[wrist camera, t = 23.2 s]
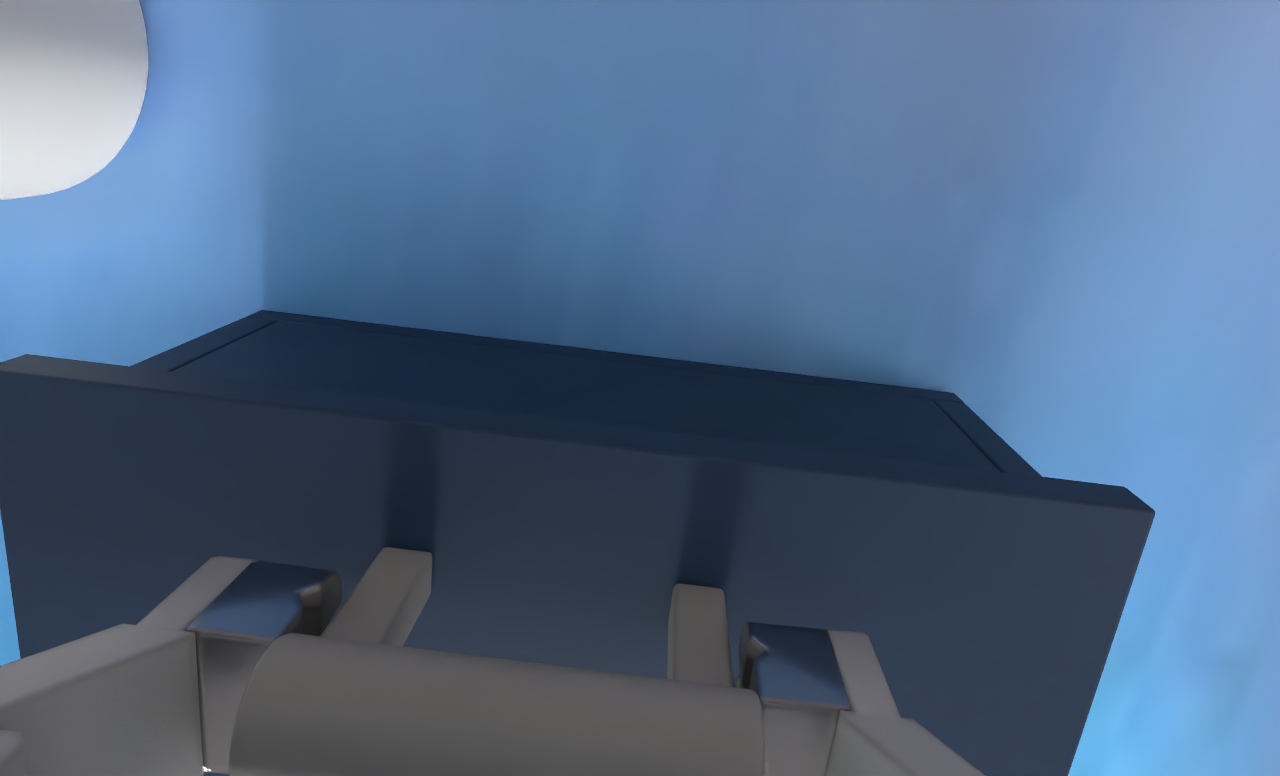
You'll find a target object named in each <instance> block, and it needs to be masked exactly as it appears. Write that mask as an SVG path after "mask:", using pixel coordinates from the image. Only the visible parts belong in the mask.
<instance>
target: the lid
mask: <svg viewBox="0 0 1280 776" xmlns="http://www.w3.org/2000/svg"><path fill="white" fill-rule="evenodd" d="M0 509H1V517H2V524H3V531H4V539H5V546H6V553H7V561H8V568H9V575H10V583H11V590H12V597H13V605H14V612H15V619H16V627H17V634H18V641H19V649H20V656H21V659H23V658H26V657H28V656H31V655H34V654H37V653H40V652H43V651H46V650H48V649H51V648H54V647H57V646H60V645H63V644H66V643H69V642H71V641H74V640H77V639H80V638H83V637H86V636H89V635H91V634H94V633H97V632H100V631H103V630H106V629H109V628H112V627H114V626H117V625H120V624H131V625H136V624H138V623H139V622H140V621H141V620H142V619H143V618H144V617H145V616H146V615H148V614H149V613H150V612H151V611H152V610H153V609H154V608H155V607H157V606H158V605H159V604H160V603H161V602H162V601H163V600H164V599H165V598H167V597H168V596H169V595H170V594H171V593H172V592H173V591H174V590H175V589H177V588H178V587H179V586H180V585H181V584H182V583H183V582H184V581H185V580H187V579H188V578H189V577H190V576H191V575H192V574H193V573H194V572H196V571H197V570H198V569H199V568H200V567H201V566H202V565H203V564H204V563H206V562H207V561H208V560H209V559H210V558H211V557H217V556H228V557H237V558H247V559H255V560H257V561H267V562H274V563H282V564H289V565H296V566H303V567H310V568H317V569H324V570H331V571H337V573H338V574H339V576H340V578H341V579H342V604H341V606H340V607H339V608H338V610H337V611H336V613H335V614H334V616H333V617H332V618H331V619H332V620H331V622H330V623H329V625H328V626H327V627H326V629H325V630H324V632H323V633H322V634H321V636H313V635H305V634H297V633H289V634H285V635H282V636H280V637H279V638H277V639H276V640H275V641H274V642H273V643H272V644H271V645H270V646H269V647H268V648H267V649H266V651H265V652H264V654H263V655H262V656H261V658H260V660H259V661H258V663H257V665H256V667H255V669H254V670H253V672H252V674H251V677H250V679H249V681H248V683H247V686H246V688H245V691H244V693H243V696H242V699H241V702H240V705H239V708H238V712H237V715H236V719H235V723H234V728H233V733H232V738H231V745H230V755H229V773H230V774H225V773H214V772H203V776H764V770H765V737H764V721H763V713H762V707H761V703H760V700H759V697H758V694H757V693H756V692H754V691H753V690H751V689H743V688H735V687H734V683H733V680H734V679H735V678H736V677H738V676H739V675H740V665H739V656H738V647H739V642H740V636H741V632H742V628H743V625H744V622H754V623H764V624H775V625H786V626H796V627H807V628H817V629H830V630H843V631H855V632H863V633H865V634H866V635H867V636H868V637H869V639H870V642H871V644H872V647H873V649H874V652H875V654H876V657H877V659H878V662H879V664H880V667H881V669H882V672H883V674H884V677H885V679H886V682H887V684H888V687H889V689H890V692H891V694H892V697H893V699H894V702H895V704H896V707H897V709H898V712H899V714H900V717H901V718H907V719H913V720H915V721H916V722H917V723H918V724H920V725H921V726H922V727H924V728H925V729H926V730H927V731H929V732H930V733H931V734H932V735H934V736H935V737H936V738H938V739H939V740H940V741H941V742H943V743H944V744H945V745H947V746H948V747H949V748H950V749H952V750H953V751H954V752H955V753H957V754H958V755H959V756H961V757H962V758H963V759H964V760H966V761H967V762H968V763H970V764H971V765H972V766H973V767H975V768H976V769H977V770H979V771H980V772H981V773H982V774H984V775H985V776H1068V773H1069V770H1070V767H1071V764H1072V761H1073V758H1074V755H1075V752H1076V749H1077V746H1078V743H1079V740H1080V737H1081V734H1082V731H1083V728H1084V725H1085V722H1086V719H1087V716H1088V713H1089V710H1090V707H1091V704H1092V701H1093V698H1094V695H1095V692H1096V689H1097V686H1098V684H1099V681H1100V678H1101V675H1102V672H1103V669H1104V666H1105V663H1106V660H1107V657H1108V654H1109V651H1110V648H1111V645H1112V642H1113V639H1114V636H1115V633H1116V630H1117V627H1118V624H1119V621H1120V618H1121V615H1122V612H1123V609H1124V606H1125V603H1126V600H1127V597H1128V594H1129V591H1130V588H1131V585H1132V582H1133V579H1134V576H1135V573H1136V570H1137V567H1138V564H1139V561H1140V558H1141V555H1142V552H1143V549H1144V546H1145V543H1146V540H1147V537H1148V534H1149V531H1150V528H1151V525H1152V522H1153V519H1154V516H1155V511H1154V510H1153V509H1152V508H1151V507H1149V506H1148V505H1147V504H1146V503H1144V502H1143V501H1142V500H1141V499H1139V498H1138V497H1137V496H1135V495H1134V494H1133V493H1132V492H1130V491H1129V490H1128V489H1127V488H1125V487H1121V486H1113V485H1105V484H1097V483H1088V482H1080V481H1072V480H1063V479H1055V478H1047V477H1039V476H1030V475H1022V474H1014V473H1005V472H997V471H989V470H981V469H972V468H964V467H956V466H948V465H939V464H931V463H923V462H914V461H906V460H898V459H890V458H881V457H873V456H865V455H856V454H848V453H840V452H832V451H823V450H815V449H807V448H799V447H790V446H782V445H774V444H765V443H757V442H749V441H741V440H732V439H724V438H716V437H707V436H699V435H691V434H683V433H674V432H666V431H658V430H650V429H641V428H633V427H625V426H616V425H608V424H600V423H592V422H583V421H575V420H567V419H558V418H550V417H542V416H534V415H525V414H517V413H509V412H501V411H492V410H484V409H476V408H467V407H459V406H451V405H443V404H434V403H426V402H418V401H409V400H401V399H393V398H385V397H376V396H368V395H360V394H352V393H343V392H335V391H327V390H318V389H310V388H302V387H294V386H285V385H277V384H269V383H260V382H252V381H244V380H236V379H227V378H219V377H211V376H203V375H194V374H186V373H178V372H169V371H161V370H153V369H145V368H136V367H128V366H120V365H111V364H103V363H95V362H87V361H78V360H70V359H62V358H54V357H45V356H37V355H29V354H26V355H23V356H20V357H17V358H14V359H11V360H8V361H5V362H2V363H0Z"/></svg>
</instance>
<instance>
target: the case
mask: <svg viewBox="0 0 1280 776" xmlns="http://www.w3.org/2000/svg"><path fill="white" fill-rule="evenodd" d="M130 367H136V368H145V369H153V370H161V371H169V372H178V373H186V374H194V375H203V376H211V377H219V378H227V379H236V380H244V381H252V382H260V383H269V384H277V385H285V386H294V387H302V388H310V389H318V390H327V391H335V392H343V393H352V394H360V395H368V396H376V397H385V398H393V399H401V400H409V401H418V402H426V403H434V404H443V405H451V406H459V407H467V408H476V409H484V410H492V411H501V412H509V413H517V414H525V415H534V416H542V417H550V418H558V419H567V420H575V421H583V422H592V423H600V424H608V425H616V426H625V427H633V428H641V429H650V430H658V431H666V432H674V433H683V434H691V435H699V436H707V437H716V438H724V439H732V440H741V441H749V442H757V443H765V444H774V445H782V446H790V447H799V448H807V449H815V450H823V451H832V452H840V453H848V454H856V455H865V456H873V457H881V458H890V459H898V460H906V461H914V462H923V463H931V464H939V465H948V466H956V467H964V468H972V469H981V470H989V471H997V472H1005V473H1014V474H1022V475H1030V476H1039V477H1042V476H1041V475H1040V474H1039V473H1038V472H1037V471H1035V470H1034V469H1033V468H1032V467H1031V466H1030V465H1029V464H1028V463H1027V462H1026V461H1025V460H1024V459H1023V458H1022V457H1021V456H1020V455H1019V454H1017V453H1016V452H1015V451H1014V450H1013V449H1012V448H1011V447H1010V446H1009V445H1008V444H1007V443H1006V442H1005V441H1004V440H1003V439H1002V438H1001V437H999V436H998V435H997V434H996V433H995V432H994V431H993V430H992V429H991V428H990V427H989V426H988V425H987V424H986V423H985V422H984V421H983V420H981V419H980V418H979V417H978V416H977V415H976V414H975V413H974V412H973V411H972V410H971V409H970V408H969V407H968V406H967V405H966V404H964V402H963V401H962V400H961V399H960V398H959V397H958V396H956V395H955V394H954V393H949V392H941V391H932V390H924V389H916V388H907V387H899V386H891V385H882V384H874V383H866V382H857V381H849V380H841V379H832V378H824V377H816V376H807V375H799V374H791V373H782V372H774V371H766V370H757V369H749V368H741V367H732V366H724V365H716V364H707V363H699V362H691V361H682V360H674V359H666V358H657V357H649V356H641V355H632V354H624V353H616V352H607V351H599V350H591V349H583V348H574V347H566V346H558V345H549V344H541V343H533V342H524V341H516V340H508V339H499V338H491V337H483V336H474V335H466V334H458V333H449V332H441V331H433V330H424V329H416V328H408V327H399V326H391V325H383V324H374V323H366V322H358V321H349V320H341V319H333V318H324V317H316V316H308V315H299V314H291V313H283V312H274V311H266V310H261V311H258V312H256V313H254V314H251V315H249V316H247V317H245V318H242V319H240V320H238V321H235V322H233V323H231V324H228V325H226V326H224V327H221V328H219V329H217V330H214V331H212V332H210V333H207V334H205V335H203V336H200V337H198V338H196V339H193V340H191V341H189V342H186V343H184V344H181V345H179V346H177V347H174V348H172V349H170V350H167V351H165V352H163V353H160V354H158V355H156V356H153V357H151V358H149V359H146V360H144V361H142V362H139V363H137V364H135V365H132V366H130Z"/></svg>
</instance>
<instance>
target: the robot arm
mask: <svg viewBox="0 0 1280 776" xmlns="http://www.w3.org/2000/svg"><path fill="white" fill-rule="evenodd" d="M341 604H342V579H341V578H340V576H339V574H338V573H337V571H331V570H324V569H317V568H310V567H303V566H296V565H289V564H282V563H274V562H267V561H257V560H255V559H247V558H237V557H228V556H217V557H211V558H210V559H209V560H208V561H207V562H206V563H204V564H203V565H202V566H201V567H200V568H199V569H198V570H197V571H196V572H194V573H193V574H192V575H191V576H190V577H189V578H188V579H187V580H185V581H184V582H183V583H182V584H181V585H180V586H179V587H178V588H177V589H175V590H174V591H173V592H172V593H171V594H170V595H169V596H168V597H167V598H165V599H164V600H163V601H162V602H161V603H160V604H159V605H158V606H157V607H155V608H154V609H153V610H152V611H151V612H150V613H149V614H148V615H146V616H145V617H144V618H143V619H142V620H141V621H140V622H139V623H138V624H136V625H131V624H120V625H117V626H114V627H112V628H109V629H106V630H103V631H100V632H97V633H94V634H91V635H89V636H86V637H83V638H80V639H77V640H74V641H71V642H69V643H66V644H63V645H60V646H57V647H54V648H51V649H48V650H46V651H43V652H40V653H37V654H34V655H31V656H28V657H26V658H23V659H20V660H17V661H14V662H11V663H8V664H5V665H3V666H0V776H203V772H214V773H225V774H230V773H229V755H230V745H231V738H232V733H233V728H234V723H235V719H236V715H237V712H238V708H239V705H240V702H241V699H242V696H243V693H244V691H245V688H246V686H247V683H248V681H249V679H250V677H251V674H252V672H253V670H254V669H255V667H256V665H257V663H258V661H259V660H260V658H261V656H262V655H263V654H264V652H265V651H266V649H267V648H268V647H269V646H270V645H271V644H272V643H273V642H274V641H275V640H276V639H277V638H279V637H280V636H282V635H285V634H289V633H297V634H305V635H313V636H321V634H322V633H323V632H324V630H325V629H326V627H327V626H328V625H329V623H330V622H331V620H332V619H331V618H332V617H333V616H334V614H335V613H336V611H337V610H338V608H339V607H340V606H341ZM738 656H739V665H740V675H739V676H738V677H736V678H735V679H734V680H733V683H734V687H735V688H743V689H751V690H753V691H754V692H756V693H757V694H758V697H759V700H760V703H761V707H762V713H763V721H764V737H765V770H764V776H985V775H984V774H982V773H981V772H980V771H979V770H977V769H976V768H975V767H973V766H972V765H971V764H970V763H968V762H967V761H966V760H964V759H963V758H962V757H961V756H959V755H958V754H957V753H955V752H954V751H953V750H952V749H950V748H949V747H948V746H947V745H945V744H944V743H943V742H941V741H940V740H939V739H938V738H936V737H935V736H934V735H932V734H931V733H930V732H929V731H927V730H926V729H925V728H924V727H922V726H921V725H920V724H918V723H917V722H916V721H915V720H913V719H907V718H901V717H900V714H899V712H898V709H897V707H896V704H895V702H894V699H893V697H892V694H891V692H890V689H889V687H888V684H887V682H886V679H885V677H884V674H883V672H882V669H881V667H880V664H879V662H878V659H877V657H876V654H875V652H874V649H873V647H872V644H871V642H870V639H869V637H868V636H867V635H866V634H865V633H863V632H855V631H843V630H830V629H817V628H807V627H796V626H786V625H775V624H764V623H754V622H744V625H743V628H742V632H741V636H740V642H739V647H738Z"/></svg>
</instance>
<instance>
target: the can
mask: <svg viewBox="0 0 1280 776" xmlns="http://www.w3.org/2000/svg"><path fill="white" fill-rule="evenodd" d="M147 77H148V44H147V35H146V28H145V23H144V18H143V14H142V10H141V6H140V3H139V0H0V200H5V199H14V198H22V197H29V196H37V195H43V194H48V193H53V192H57V191H61V190H64V189H67V188H70V187H72V186H75V185H77V184H79V183H81V182H83V181H85V180H87V179H88V178H90V177H92V176H93V175H95V174H96V173H97V172H99V171H100V170H101V169H102V168H104V167H105V166H106V165H107V164H108V163H109V162H110V161H111V160H112V159H113V158H114V157H115V156H116V155H117V153H118V152H119V151H120V150H121V148H122V147H123V146H124V144H125V143H126V141H127V139H128V138H129V136H130V134H131V133H132V131H133V129H134V126H135V124H136V122H137V120H138V117H139V114H140V111H141V108H142V105H143V101H144V97H145V92H146V86H147Z"/></svg>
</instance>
